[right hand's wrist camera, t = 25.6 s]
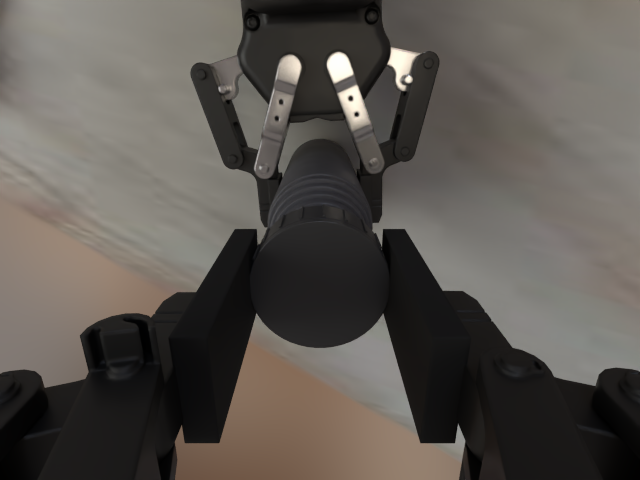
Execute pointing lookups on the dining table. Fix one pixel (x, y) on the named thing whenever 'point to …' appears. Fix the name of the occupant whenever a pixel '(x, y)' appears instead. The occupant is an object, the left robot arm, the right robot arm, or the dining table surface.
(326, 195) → the bottle
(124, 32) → the dining table surface
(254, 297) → the cap
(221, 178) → the dining table surface
